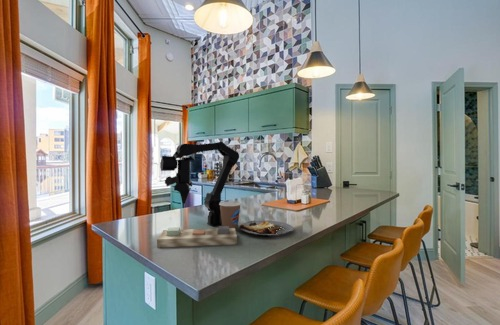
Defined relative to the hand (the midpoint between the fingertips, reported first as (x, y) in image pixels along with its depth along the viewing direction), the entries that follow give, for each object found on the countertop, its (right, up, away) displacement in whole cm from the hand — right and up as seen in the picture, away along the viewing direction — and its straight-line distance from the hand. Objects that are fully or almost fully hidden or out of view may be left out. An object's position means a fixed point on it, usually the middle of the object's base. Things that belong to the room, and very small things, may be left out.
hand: (183, 203), depth 119 cm
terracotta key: (+11, -12, -17) cm, 23 cm away
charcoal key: (+20, -11, -15) cm, 28 cm away
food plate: (+39, -13, -2) cm, 41 cm away
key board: (+11, -12, -17) cm, 23 cm away
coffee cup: (+22, -12, +1) cm, 25 cm away
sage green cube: (+1, -11, -18) cm, 21 cm away
